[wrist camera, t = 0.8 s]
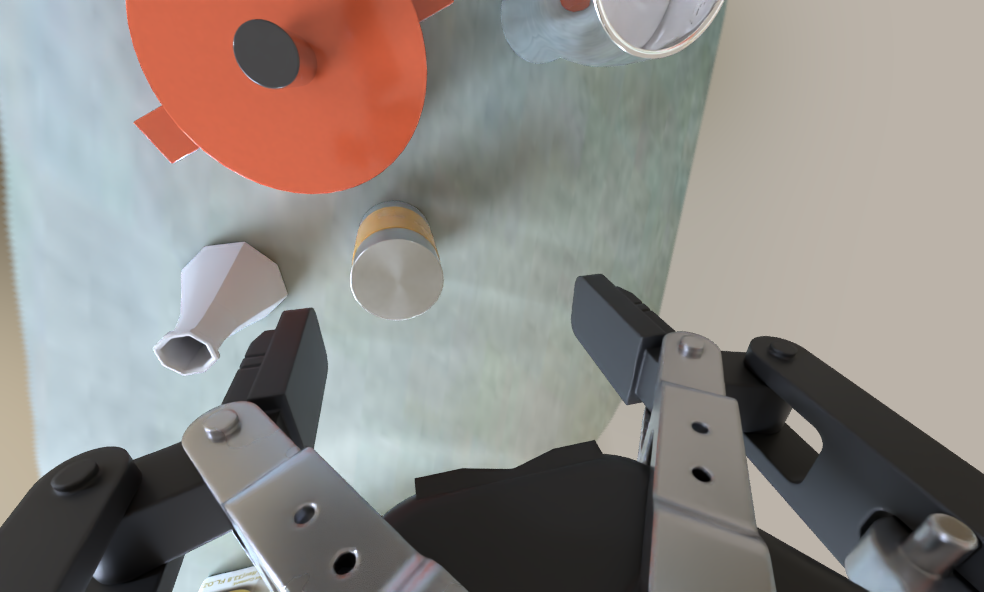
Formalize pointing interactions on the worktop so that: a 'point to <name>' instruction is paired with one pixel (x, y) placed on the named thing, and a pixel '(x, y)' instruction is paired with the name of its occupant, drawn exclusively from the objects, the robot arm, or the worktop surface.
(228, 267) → the flask
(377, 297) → the can
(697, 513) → the robot arm
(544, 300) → the worktop surface
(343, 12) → the lid
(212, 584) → the juice carton
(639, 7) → the silver metal cup
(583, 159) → the worktop surface
